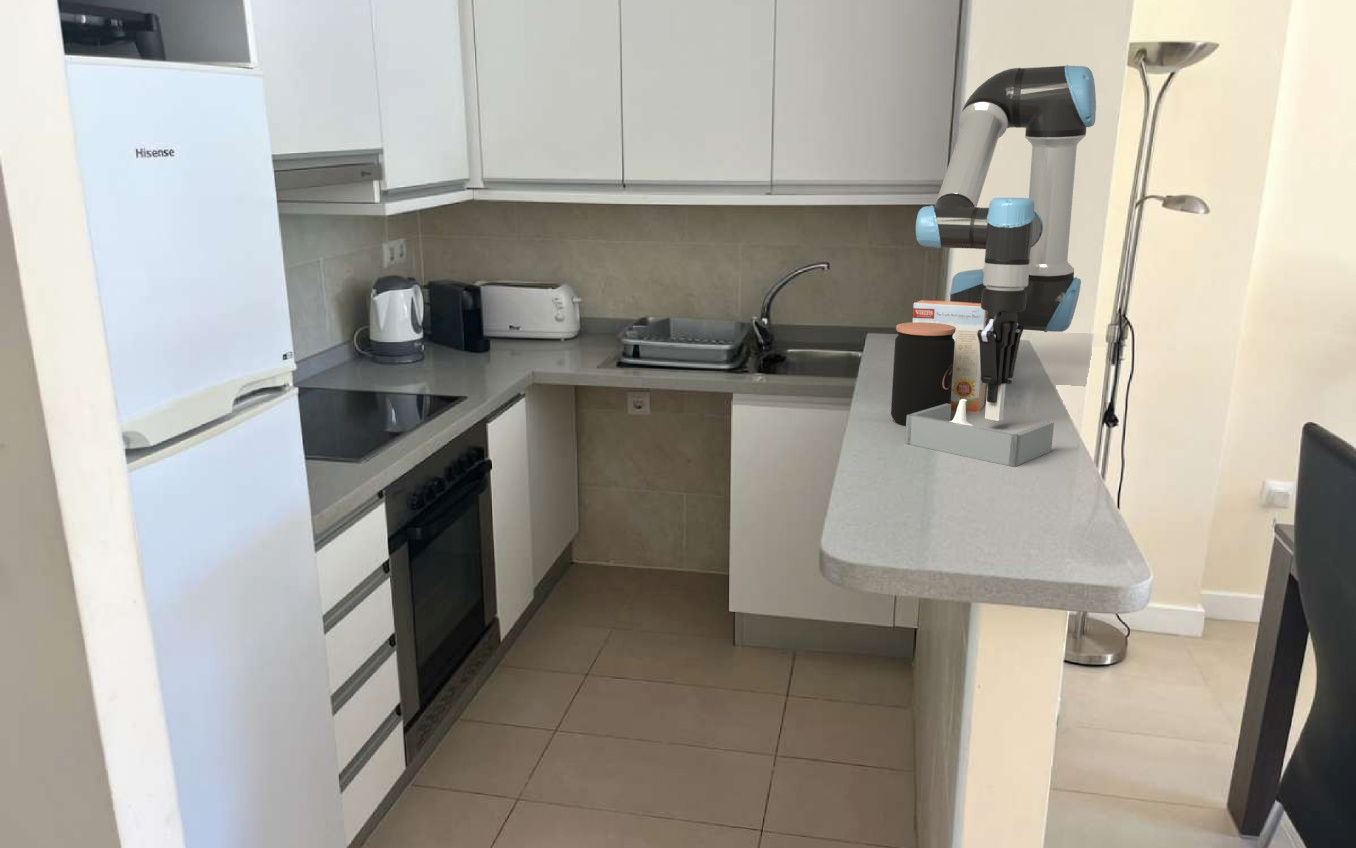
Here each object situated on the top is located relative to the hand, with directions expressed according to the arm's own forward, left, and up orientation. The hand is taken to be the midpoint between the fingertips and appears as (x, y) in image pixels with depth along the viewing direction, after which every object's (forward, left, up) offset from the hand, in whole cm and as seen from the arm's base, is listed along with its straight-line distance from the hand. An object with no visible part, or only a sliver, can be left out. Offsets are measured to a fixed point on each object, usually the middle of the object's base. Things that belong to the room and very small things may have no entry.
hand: (993, 419), depth 180 cm
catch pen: (+13, +4, -2) cm, 14 cm away
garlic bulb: (+13, 0, -2) cm, 13 cm away
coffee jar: (+4, -13, -2) cm, 14 cm away
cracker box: (-11, -16, -2) cm, 19 cm away
